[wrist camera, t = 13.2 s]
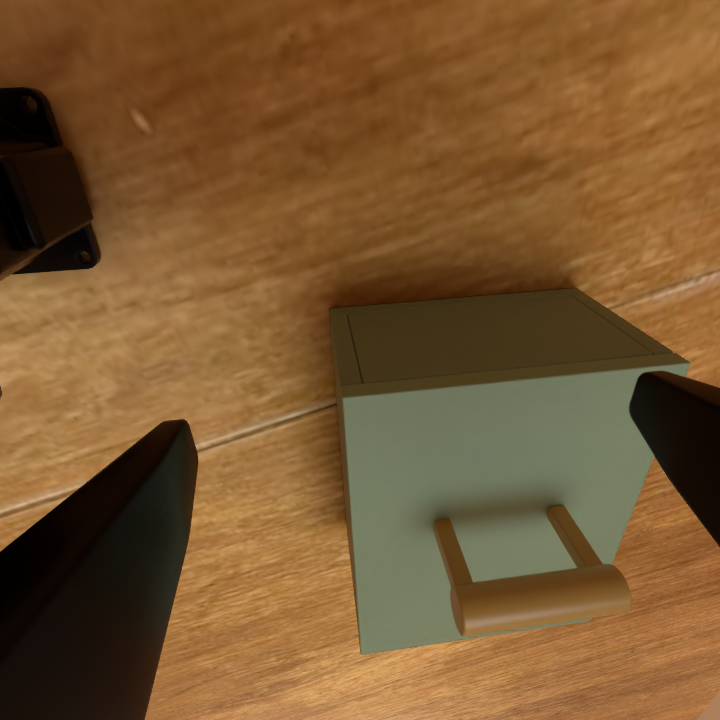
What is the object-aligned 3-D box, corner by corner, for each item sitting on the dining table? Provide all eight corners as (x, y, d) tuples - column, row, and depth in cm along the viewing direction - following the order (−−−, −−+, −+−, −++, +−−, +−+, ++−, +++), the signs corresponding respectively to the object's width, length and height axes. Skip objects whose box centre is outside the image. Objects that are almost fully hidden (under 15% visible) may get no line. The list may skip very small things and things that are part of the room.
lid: (581, 607, 25) (644, 717, 20) (359, 639, 24) (372, 763, 19) (675, 351, 17) (814, 443, 12) (340, 385, 16) (356, 498, 11)
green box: (529, 503, 30) (585, 598, 24) (346, 526, 29) (358, 631, 23) (576, 287, 22) (674, 351, 17) (328, 308, 21) (340, 384, 16)
